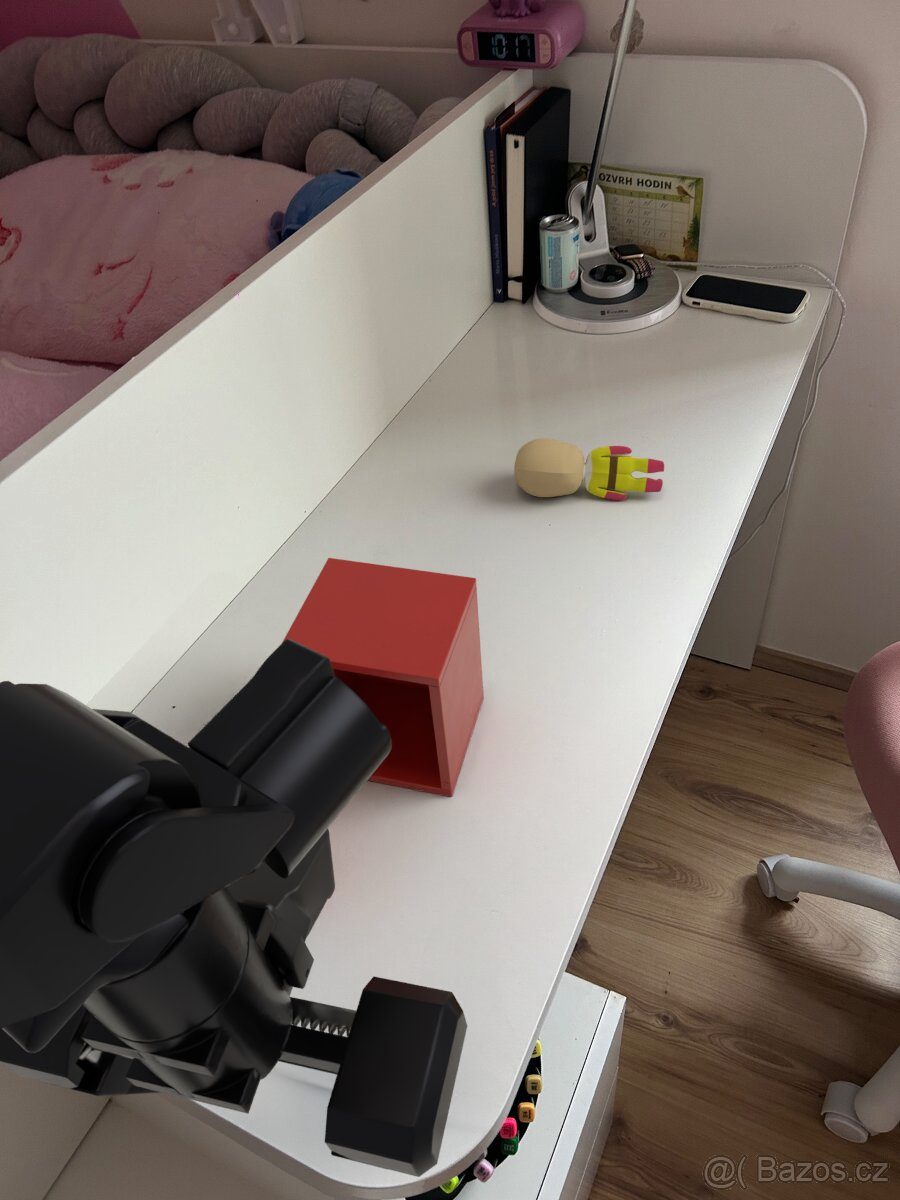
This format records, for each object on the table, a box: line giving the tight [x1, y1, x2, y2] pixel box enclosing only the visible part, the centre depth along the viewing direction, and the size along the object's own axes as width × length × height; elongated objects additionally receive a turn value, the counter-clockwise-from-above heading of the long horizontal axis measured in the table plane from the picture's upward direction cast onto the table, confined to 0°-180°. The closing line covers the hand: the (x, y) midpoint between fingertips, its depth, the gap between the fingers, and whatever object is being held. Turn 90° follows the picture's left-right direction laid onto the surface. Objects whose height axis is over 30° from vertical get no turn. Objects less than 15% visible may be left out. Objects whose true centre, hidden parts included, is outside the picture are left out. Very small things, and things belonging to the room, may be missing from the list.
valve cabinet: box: [281, 557, 485, 798], centre depth 70 cm, size 10×12×14 cm
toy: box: [513, 437, 665, 501], centre depth 94 cm, size 6×7×15 cm
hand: (280, 1098), depth 44 cm, fingers open, 9 cm apart
